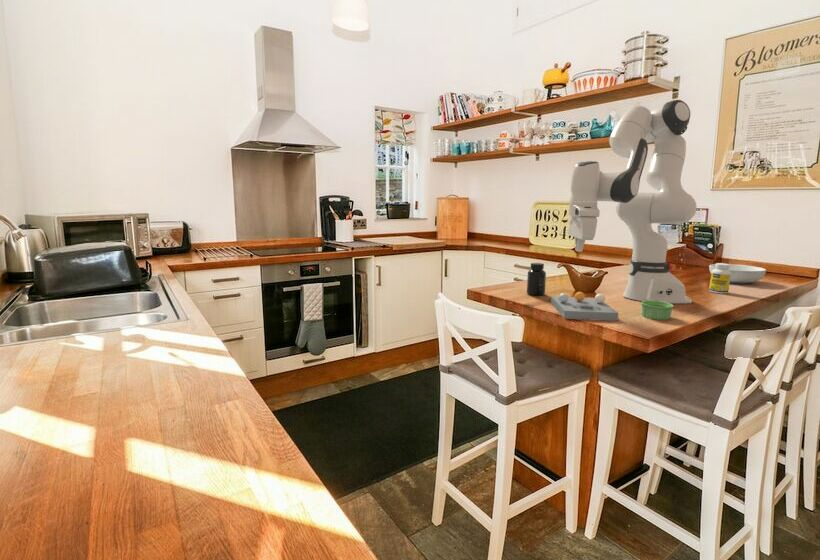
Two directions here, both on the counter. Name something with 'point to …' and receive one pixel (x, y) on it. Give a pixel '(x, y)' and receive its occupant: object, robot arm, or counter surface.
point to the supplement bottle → (536, 280)
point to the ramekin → (656, 310)
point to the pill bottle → (720, 279)
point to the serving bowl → (743, 273)
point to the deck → (584, 309)
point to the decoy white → (599, 298)
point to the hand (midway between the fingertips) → (578, 251)
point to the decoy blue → (563, 297)
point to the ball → (579, 296)
